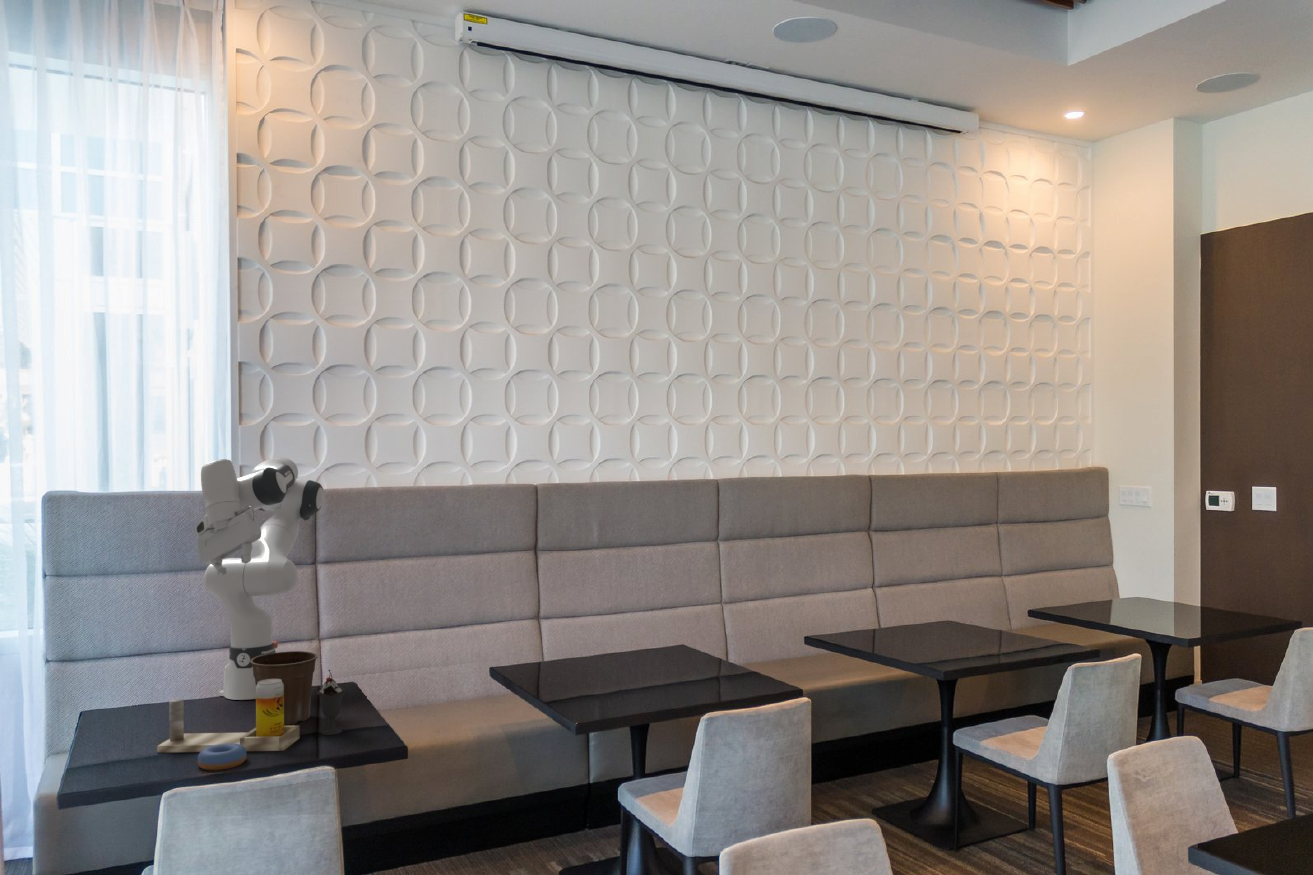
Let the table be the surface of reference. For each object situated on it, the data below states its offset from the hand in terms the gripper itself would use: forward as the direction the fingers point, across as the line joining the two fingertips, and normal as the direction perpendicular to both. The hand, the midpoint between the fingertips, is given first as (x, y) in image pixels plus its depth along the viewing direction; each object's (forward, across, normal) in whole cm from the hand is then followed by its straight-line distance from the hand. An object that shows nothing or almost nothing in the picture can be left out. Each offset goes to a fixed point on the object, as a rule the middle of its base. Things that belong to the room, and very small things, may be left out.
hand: (234, 568), depth 252 cm
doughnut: (+49, -8, +19) cm, 54 cm away
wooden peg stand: (+44, +1, +9) cm, 44 cm away
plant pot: (+39, +6, -12) cm, 41 cm away
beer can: (+47, -7, +4) cm, 47 cm away
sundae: (+47, -12, -10) cm, 49 cm away
